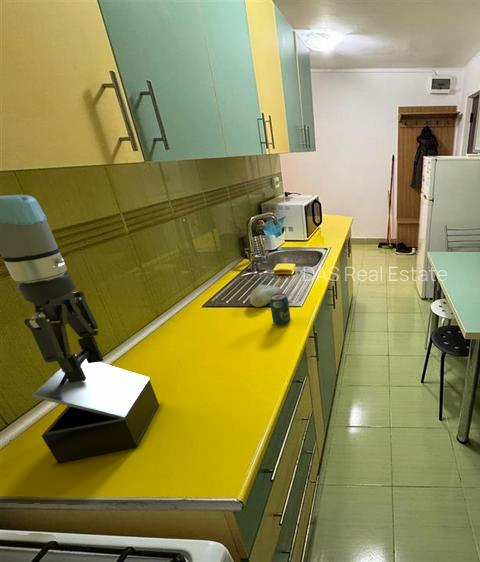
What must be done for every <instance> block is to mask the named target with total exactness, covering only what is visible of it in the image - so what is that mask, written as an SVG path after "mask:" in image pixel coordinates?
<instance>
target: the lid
mask: <svg viewBox="0 0 480 562" xmlns="http://www.w3.org/2000/svg"><path fill="white" fill-rule="evenodd" d="M91 354H92V351H91V350H90V349H88V348H85V349H81V350H80V351H79V352H77V354H75V355H76V357H77V359H78V361H79V363H80V365H81V367H82V370H83V372H84V374H85V376H86V378H87V379H86V380H85V381H79V382H72V383H70V382H69V380H68V378H67V376H66V375H65V373H64V372H63V371H62V369H61V368H59V369H58V370H57V371H56V372H55V373H54V374H53V375H52V376H51V377H49V379H47V380H46V382H45V383H43V384H42V385H41V386H40V387H39V388H38V389H37V390H36V391H34V392H33V393H32V395H31V398H35V399H38V400H42V401H46V402H49V403H54V404H59V405H63V406H66V407H67V406H70V407H74V408H78V409H82V410H86V411H90V412H94V413H98V414H102V415H106V416H110V417H114V418H118V419H122V420H124V418H125V417H126V415H127V414H128V412H129V411H130V409H131V407H132V406H133V404H134V403H135V401H136V399H137V398H138V396H139V395H140V393H141V391H142V390H143V388H144V387H145V385H146V383H147V382H148V380H150V377H149V376H147V375H146V376H145V375H142V374H139V373H136V372H132V371H129V370H126V369H123V368H120V367H117V366H113V365H111V364H108V363H104V362H96V363H89V364H88V362H87V358H88V357H89V356H90V355H91Z"/></svg>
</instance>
